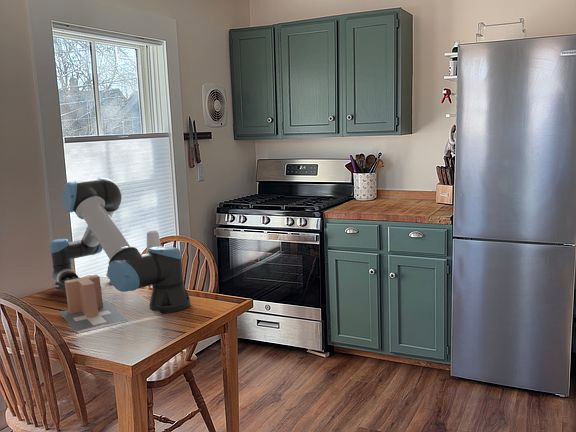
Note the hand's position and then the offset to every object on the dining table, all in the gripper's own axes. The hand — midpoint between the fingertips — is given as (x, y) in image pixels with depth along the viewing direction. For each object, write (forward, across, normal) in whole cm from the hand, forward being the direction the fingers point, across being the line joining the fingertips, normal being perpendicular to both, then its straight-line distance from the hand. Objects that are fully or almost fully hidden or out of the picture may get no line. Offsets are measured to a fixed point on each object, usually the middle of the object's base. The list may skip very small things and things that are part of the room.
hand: (80, 290), depth 224 cm
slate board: (+16, 0, -7) cm, 17 cm away
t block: (+11, 0, -6) cm, 12 cm away
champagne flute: (-9, -34, -7) cm, 36 cm away
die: (-32, -22, -7) cm, 40 cm away
